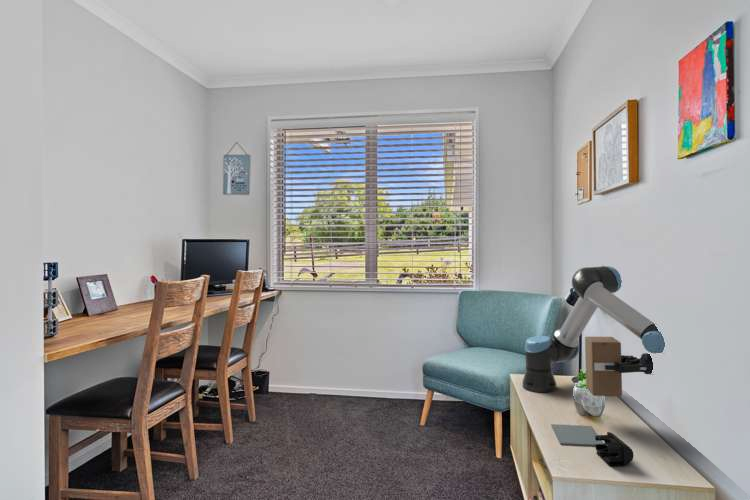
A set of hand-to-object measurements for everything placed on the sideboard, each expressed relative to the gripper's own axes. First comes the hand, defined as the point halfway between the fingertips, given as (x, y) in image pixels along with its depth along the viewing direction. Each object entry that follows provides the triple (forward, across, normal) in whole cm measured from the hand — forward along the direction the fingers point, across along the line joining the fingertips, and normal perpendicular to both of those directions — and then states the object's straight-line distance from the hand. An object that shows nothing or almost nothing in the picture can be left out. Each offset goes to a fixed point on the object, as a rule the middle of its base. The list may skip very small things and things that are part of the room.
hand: (590, 362), depth 170 cm
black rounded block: (+2, -31, -22) cm, 38 cm away
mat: (+9, -14, -22) cm, 28 cm away
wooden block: (-4, 0, -11) cm, 12 cm away
